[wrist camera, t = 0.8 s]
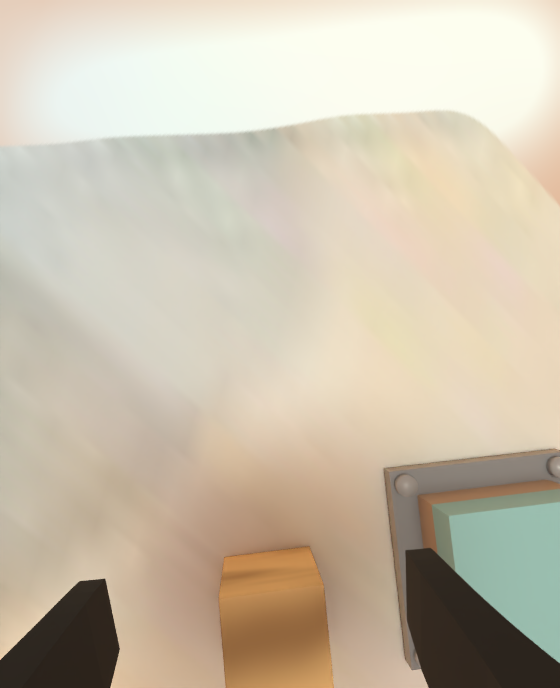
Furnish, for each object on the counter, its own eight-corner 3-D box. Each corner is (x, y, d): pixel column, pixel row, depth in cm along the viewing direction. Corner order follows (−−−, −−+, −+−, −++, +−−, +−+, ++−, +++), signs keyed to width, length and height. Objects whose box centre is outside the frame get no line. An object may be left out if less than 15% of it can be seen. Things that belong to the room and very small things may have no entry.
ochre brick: (317, 634, 25) (334, 695, 20) (231, 646, 25) (227, 712, 20) (308, 545, 26) (323, 584, 21) (224, 556, 25) (218, 599, 20)
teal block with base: (581, 632, 26) (658, 690, 21) (405, 659, 25) (443, 726, 20) (554, 448, 27) (623, 463, 22) (384, 468, 26) (415, 488, 21)
